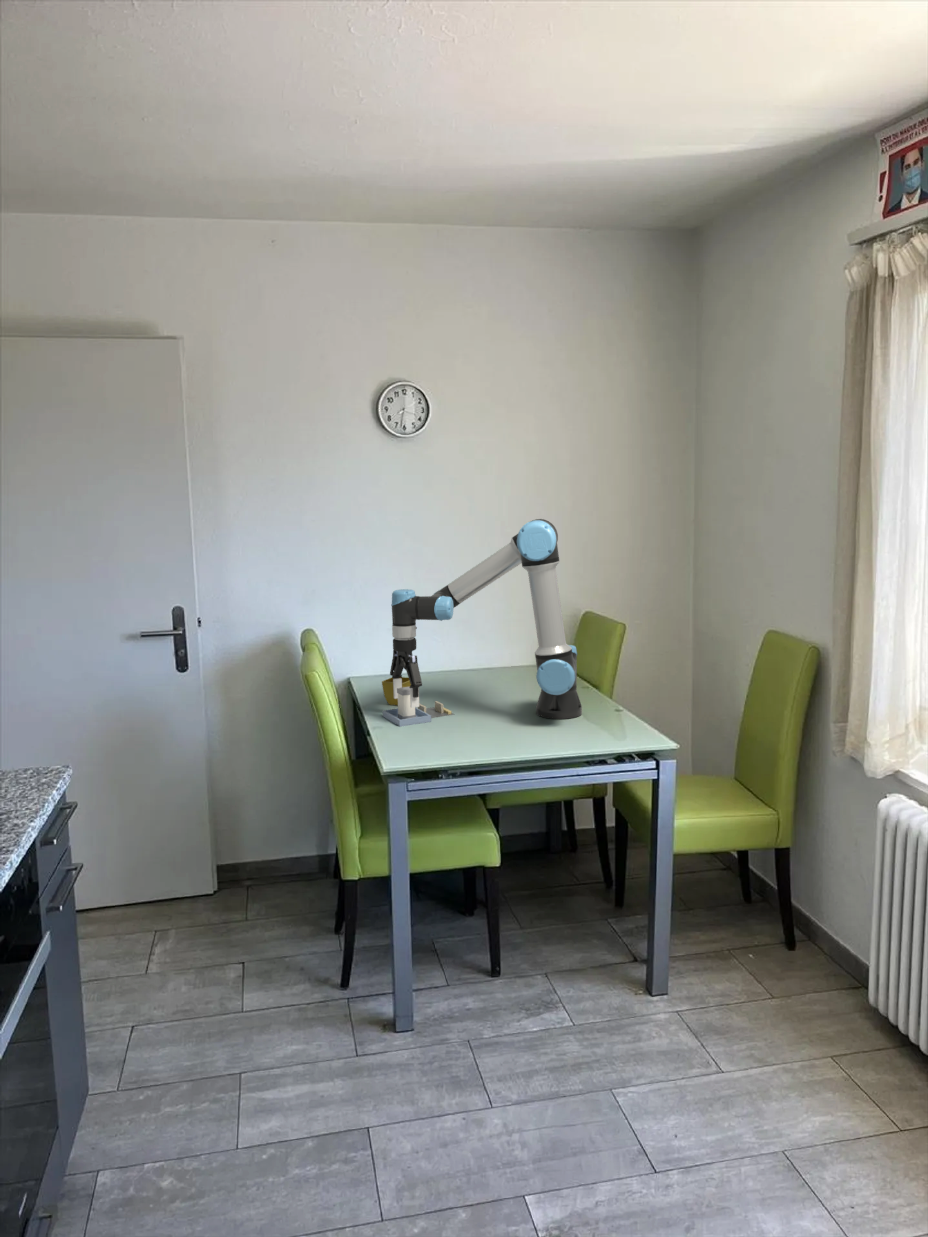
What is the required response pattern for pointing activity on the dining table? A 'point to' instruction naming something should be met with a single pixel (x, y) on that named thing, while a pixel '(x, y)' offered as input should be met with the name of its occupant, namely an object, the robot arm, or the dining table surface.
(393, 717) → the tray
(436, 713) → the block
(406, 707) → the block
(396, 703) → the flower pot
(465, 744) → the dining table surface
